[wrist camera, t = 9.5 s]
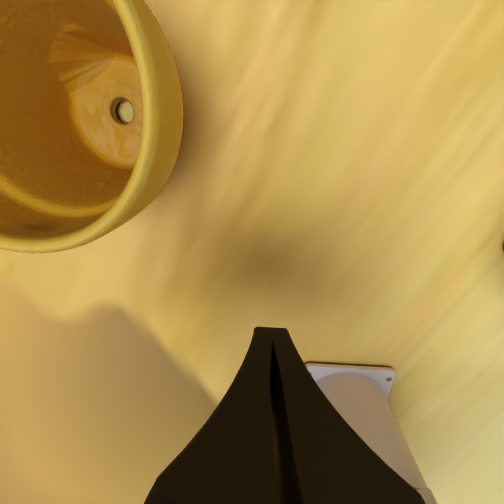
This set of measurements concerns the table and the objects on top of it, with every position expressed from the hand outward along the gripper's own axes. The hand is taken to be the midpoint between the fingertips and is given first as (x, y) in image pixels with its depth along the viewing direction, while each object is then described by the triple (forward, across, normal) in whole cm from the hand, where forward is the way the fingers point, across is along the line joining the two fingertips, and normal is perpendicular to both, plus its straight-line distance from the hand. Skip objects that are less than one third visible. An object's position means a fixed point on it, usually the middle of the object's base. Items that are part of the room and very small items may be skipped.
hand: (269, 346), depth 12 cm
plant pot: (+10, +9, -9) cm, 16 cm away
